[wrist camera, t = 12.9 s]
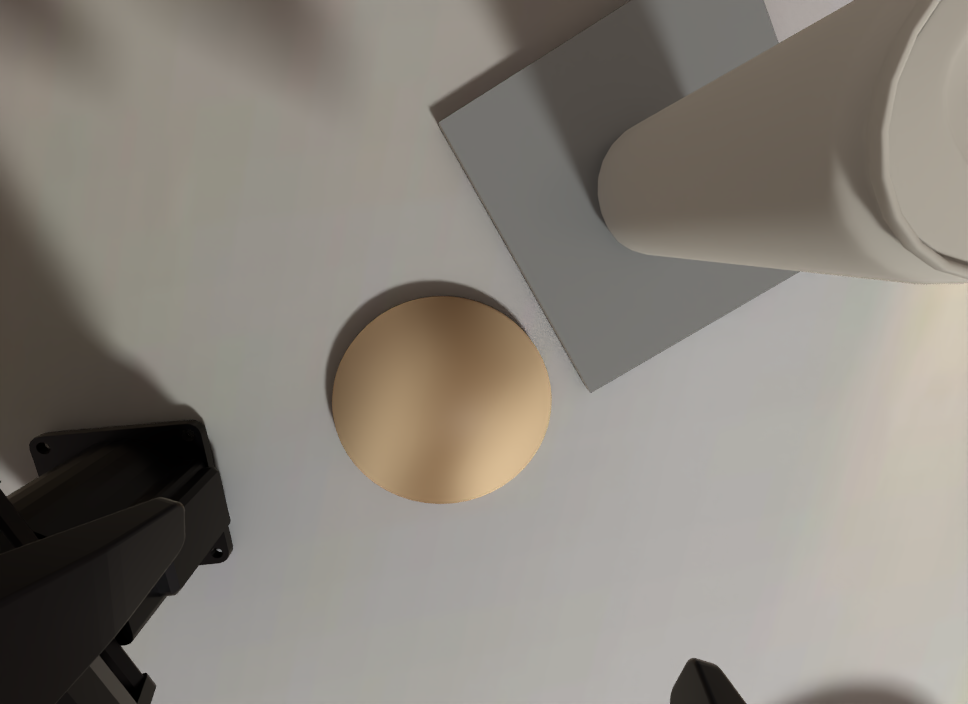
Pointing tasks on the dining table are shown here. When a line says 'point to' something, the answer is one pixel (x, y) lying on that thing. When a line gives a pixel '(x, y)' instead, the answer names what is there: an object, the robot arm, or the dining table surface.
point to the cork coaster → (441, 400)
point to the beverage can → (813, 154)
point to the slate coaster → (576, 166)
